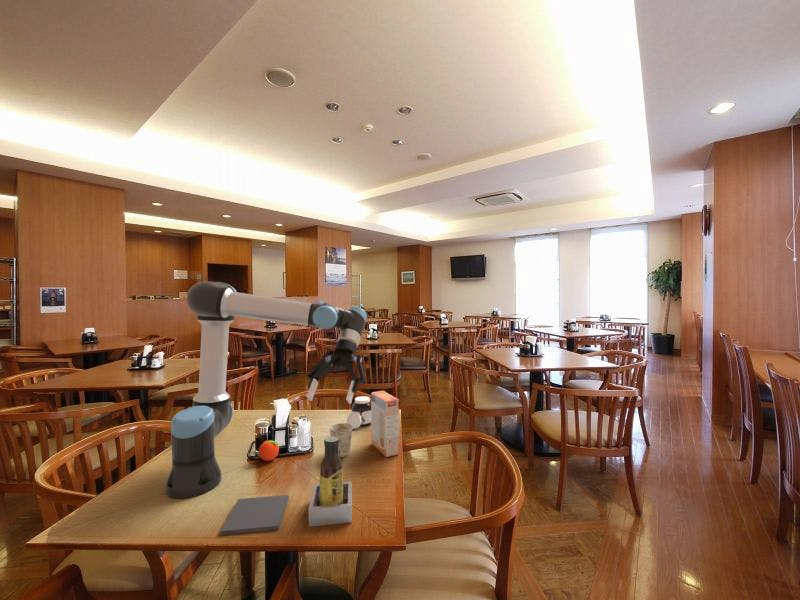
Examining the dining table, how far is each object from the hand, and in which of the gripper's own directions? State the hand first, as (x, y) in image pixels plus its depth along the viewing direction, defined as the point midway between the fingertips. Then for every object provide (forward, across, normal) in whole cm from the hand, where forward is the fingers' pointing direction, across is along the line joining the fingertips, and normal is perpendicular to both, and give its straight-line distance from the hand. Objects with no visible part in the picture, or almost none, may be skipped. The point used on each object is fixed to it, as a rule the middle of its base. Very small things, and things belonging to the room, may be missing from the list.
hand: (328, 400), depth 111 cm
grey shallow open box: (+27, -6, -11) cm, 30 cm away
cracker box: (-1, -8, -40) cm, 40 cm away
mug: (+6, +6, -32) cm, 33 cm away
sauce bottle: (+28, -6, -11) cm, 30 cm away
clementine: (+12, +29, -26) cm, 41 cm away
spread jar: (-16, +11, -54) cm, 58 cm away
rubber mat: (+32, +12, -5) cm, 35 cm away
